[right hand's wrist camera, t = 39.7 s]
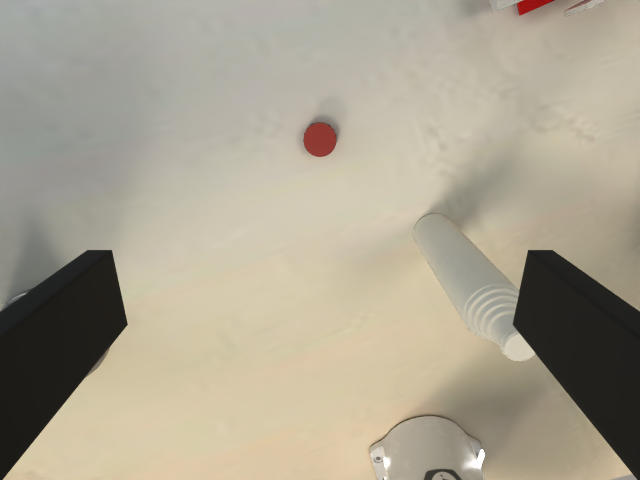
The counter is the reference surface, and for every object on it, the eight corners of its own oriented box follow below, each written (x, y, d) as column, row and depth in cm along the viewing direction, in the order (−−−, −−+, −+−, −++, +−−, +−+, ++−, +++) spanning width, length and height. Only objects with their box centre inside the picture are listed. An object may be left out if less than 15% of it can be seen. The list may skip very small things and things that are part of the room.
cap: (315, 115, 47) (315, 116, 45) (342, 134, 48) (343, 136, 46) (297, 142, 48) (297, 144, 47) (324, 160, 49) (324, 163, 47)
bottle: (462, 228, 52) (574, 341, 29) (434, 258, 54) (519, 387, 31) (432, 205, 51) (524, 303, 28) (404, 236, 53) (470, 353, 30)
